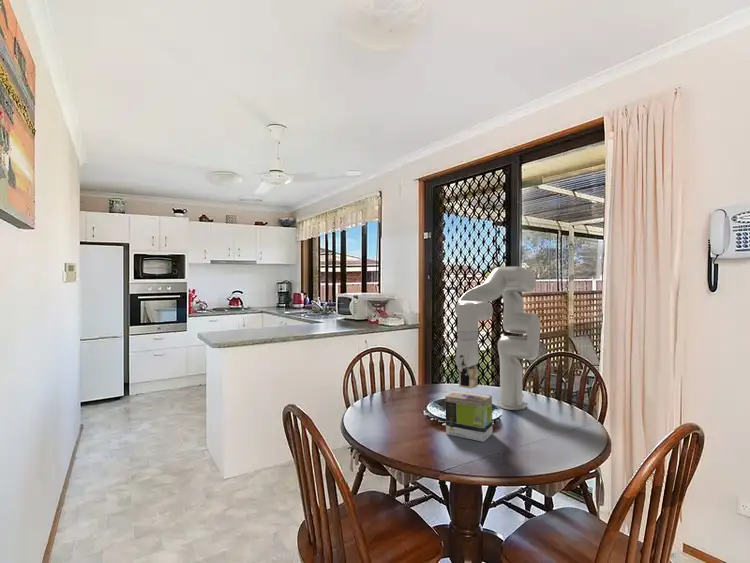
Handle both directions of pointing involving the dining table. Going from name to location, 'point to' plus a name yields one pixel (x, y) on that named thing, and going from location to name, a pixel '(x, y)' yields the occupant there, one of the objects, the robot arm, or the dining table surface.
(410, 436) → the dining table surface
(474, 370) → the maple block
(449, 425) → the tea box
